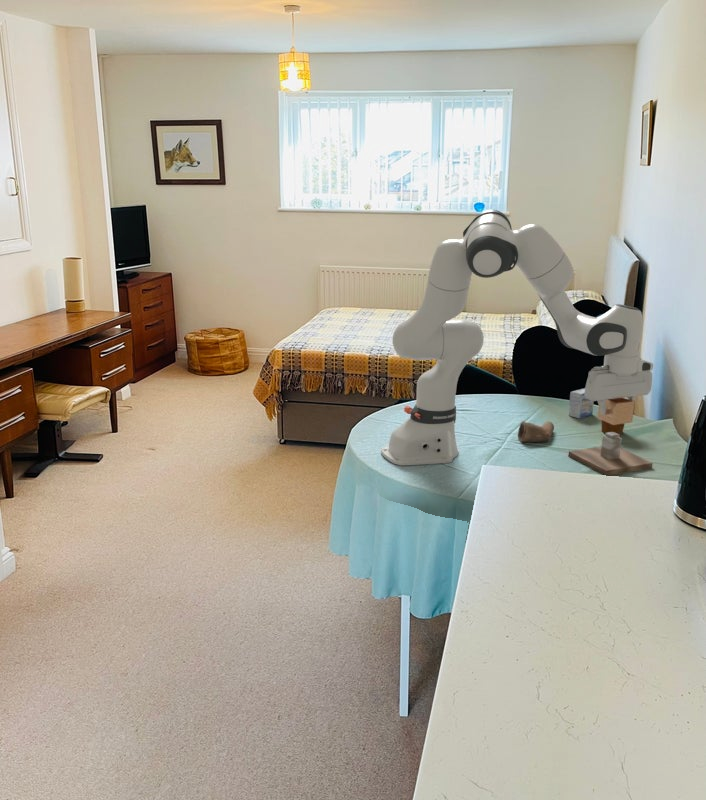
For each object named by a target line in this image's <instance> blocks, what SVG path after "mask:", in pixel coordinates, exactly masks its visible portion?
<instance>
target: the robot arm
mask: <svg viewBox="0 0 706 800" xmlns="http://www.w3.org/2000/svg"><path fill="white" fill-rule="evenodd" d="M516 266H517V267H518V268H519V269H520V271H521V272H522V273H523V275H524V276H525V277H526V279H527V280H528V283H530V285H531V286H532V287H533V288H534V289H535V291H536V292H537V295H538V296H539V298H540V300H541V302H542V304H543V305H544V307H545V308H546V310H547V312H548V313H549V315H550V316H551V318H552V320H553V322H554V324H555V327H556V332H557V336H558V339H559V341H560V343H561V344H562V345H563V346H565V347H567V348H569V349H573V350H578V351H581V352H583V353H586V354H589V355H592V356H596V357H597V356H599V357H601V356H604V358H603V365H600V366H594V367H593V368H591V370H590V371H588V376H587V380H586V383H585V387H584V388H585V394H584V395H585V397H586V398H587V399H589V400H592V401H594V402H596V401H597V405H598V407H599V406H600V414H602V415H606V414H608V411H609V409H608V408H606V406H605V403H607V399H616V398H624V397H627V398H628V399H629V400H632V401H635V402H636V400H637V397H639V396H641V397H642V396H648V395H649V394H650V392H651V391H652V386H653V385H652V384H653V373H652V371H653V369H654V363H652V362H651V361H648V360H644V359H642V358H640V349H639V348H640V343H641V341H642V337H643V336H642V334H643V325H644V324H643V313H642V311H641V310H640V309H639V307H634V306H630V305H625V304H618V303H617V304H613V305H612V306H611V308H610V309H609V310H608V311H606V312H605V313H603V314H600V315H599V316H596V317H595V316H591V315H588V314H585V313H583V312H580V311H579V310H578V309H576V307H574V305H573V303H572V301H571V299H570V297H569V296H568V294H567V293H566V291H565V290H566V289H567V288H568V286H570V285H571V283H572V280H573V278H574V274H575V270H574V267H573V264H572V262H571V260H570V259H569V257H568V256H567V254H566V252H565V250H564V249H563V247H562V246H560V244H559V242H557V240H556V239H555V238H554V236H552V235H551V234H550V233H549V232H548V231H547V229H545V228H544V227H543V226H542V225H539V224H536V223H530V224H529V223H528V224H525V225H524V226H521V227H520V228H519V229H512V224H511V222H510V219H509V218H508V216H507V215H506V214H505V213H503V212H502V211H500V210H497V209H491V208H490V209H486V210H484V211H481V212H480V213H478V215H477V216H475V218H474V219H473V220H472V221H471V222H470V223H469V225H467V227H465V229H464V230H463V232H462V238H460V239H456V238H450V239H446V240H443V241H441V242H440V243H439V244H438V246H437V247H436V249H435V252H434V254H433V257H432V260H431V264H430V267H429V272H428V277H427V282H426V283H427V284H426V288H425V292H424V297H423V299H422V301H421V304H420V306H419V307H418V309H417V310H416V311H415V312H414V313H413V315H411V316H410V317H409V318H408V319H406V320H405V321H403V322H402V323H399V325H397V326H396V328H395V330H394V332H393V335H392V347H393V349H394V351H395V353H396V354H397V356H398V357H400V358H402V359H408V360H414V361H426V360H430V361H431V360H436V363H435V364H434V366H433V367H431V369H429V370H427V371H424V372H423V373H422V374H421V375H420V376H418V377H419V378H418V380H417V381H416V401H415V402H416V403H415V404H414V406H413V408H412V407H410V406H409V405H406V406H404V408H403V411H404V412H405V413H406V414H407V415H410V418H408V419H407V420H406V421H404V422H403V423H402V424H401V425H399V427H397V428H395V429H394V430H393V431H392V432H391V434H390V437H389V442H388V443H389V444H388V445H386V446H383V447H381V451H380V452H381V455H382V456H383V458H384V459H386V460H387V461H389V462H391V463H392V464H395V465H399V466H417V465H435V464H451V463H452V462H453V459H454V458H456V457H457V456H458V455H459V451H458V450H459V449H458V446H457V439H456V430H455V429H456V428H455V424H456V420H457V419H456V418H457V405H456V393H457V386H458V385H457V384H458V381H459V377H460V375H461V373H462V372H463V369H464V368H465V366H466V365H467V364H468V363H469V362H470V361H471V360H472V359H473V358H475V356H477V355H478V354H479V353H480V352H481V350H482V348H483V346H484V341H485V340H484V333H483V330H482V328H481V327H480V325H479V324H478V323H477V322H474V321H470V320H465V319H455V318H456V317H458V316H459V315H460V314H461V313H462V312H463V311H464V309H465V307H466V304H467V299H468V295H469V289H470V284H471V281H472V275H473V274H474V275H475V276H478V277H479V278H485V279H488V278H494V277H496V276H497V277H498V276H499V275H501V274H503V273H505V272H508V271H511V270H513V269H514V268H515V267H516Z"/></svg>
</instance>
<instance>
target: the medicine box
mask: <svg viewBox="0 0 706 800" xmlns="http://www.w3.org/2000/svg"><path fill="white" fill-rule="evenodd" d="M584 394H585V387H584V388H580V389H576V390H572V391H570V394H569V404H568V405H569V406H568V416H569V417H571V418H575V419H583V418H585V417H588V416H591V415H593V411H594V402H595V401H592V400H589V399H587V398H586V397H585V395H584Z"/></svg>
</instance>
